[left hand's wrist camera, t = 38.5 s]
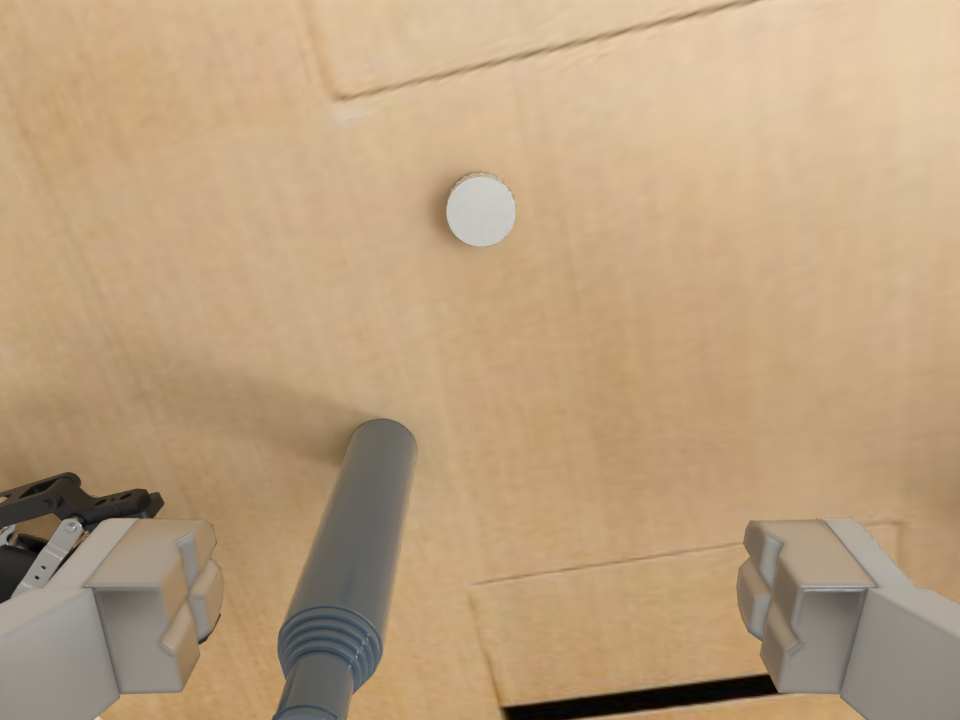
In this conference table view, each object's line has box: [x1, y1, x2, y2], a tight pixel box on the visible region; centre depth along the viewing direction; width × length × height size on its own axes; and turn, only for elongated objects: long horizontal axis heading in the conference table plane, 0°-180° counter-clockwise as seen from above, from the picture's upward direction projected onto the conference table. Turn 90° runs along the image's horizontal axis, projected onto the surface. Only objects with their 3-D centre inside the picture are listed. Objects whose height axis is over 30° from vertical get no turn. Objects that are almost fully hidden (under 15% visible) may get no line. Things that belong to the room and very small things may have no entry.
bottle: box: [271, 419, 417, 720], centre depth 37 cm, size 5×5×23 cm
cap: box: [446, 172, 516, 247], centre depth 40 cm, size 4×4×2 cm
